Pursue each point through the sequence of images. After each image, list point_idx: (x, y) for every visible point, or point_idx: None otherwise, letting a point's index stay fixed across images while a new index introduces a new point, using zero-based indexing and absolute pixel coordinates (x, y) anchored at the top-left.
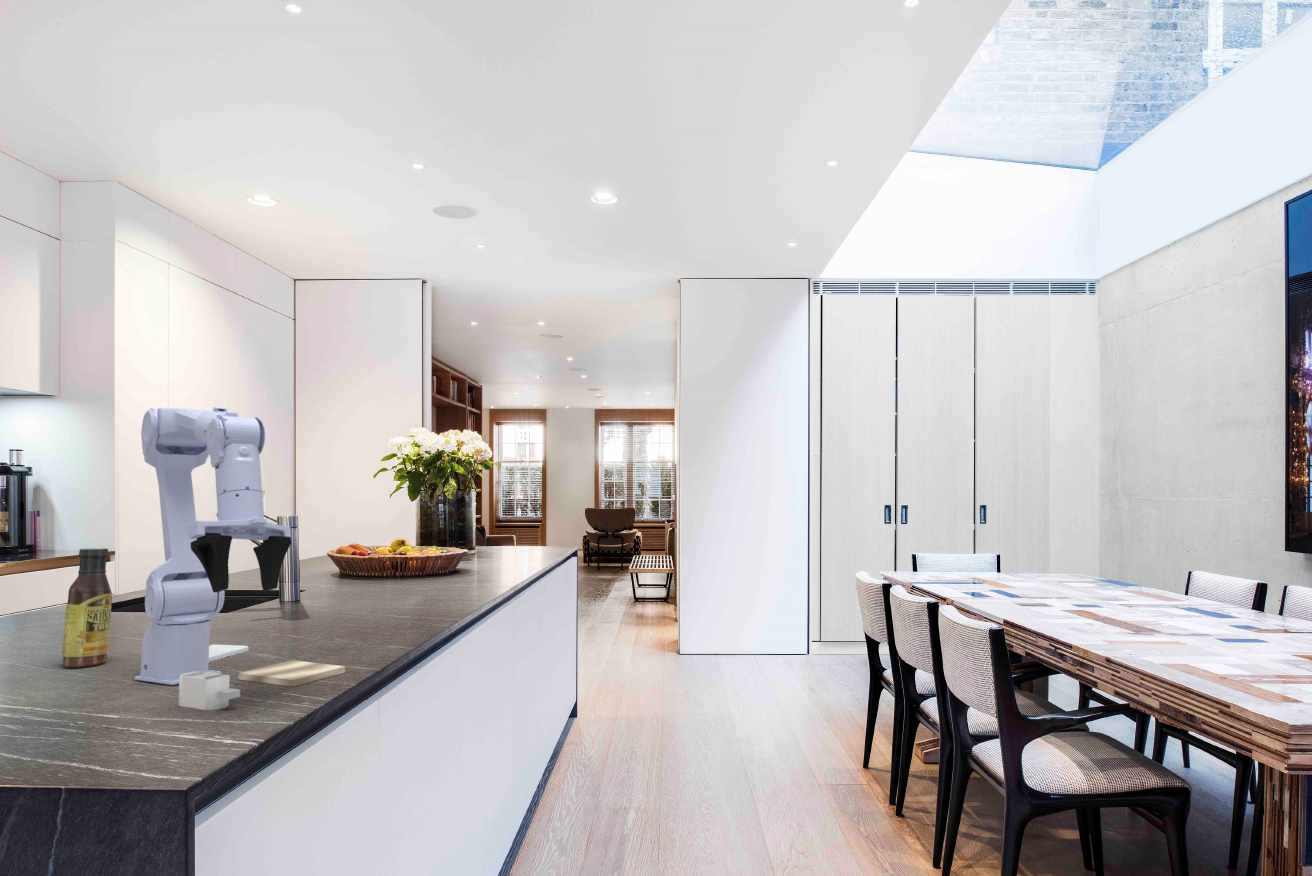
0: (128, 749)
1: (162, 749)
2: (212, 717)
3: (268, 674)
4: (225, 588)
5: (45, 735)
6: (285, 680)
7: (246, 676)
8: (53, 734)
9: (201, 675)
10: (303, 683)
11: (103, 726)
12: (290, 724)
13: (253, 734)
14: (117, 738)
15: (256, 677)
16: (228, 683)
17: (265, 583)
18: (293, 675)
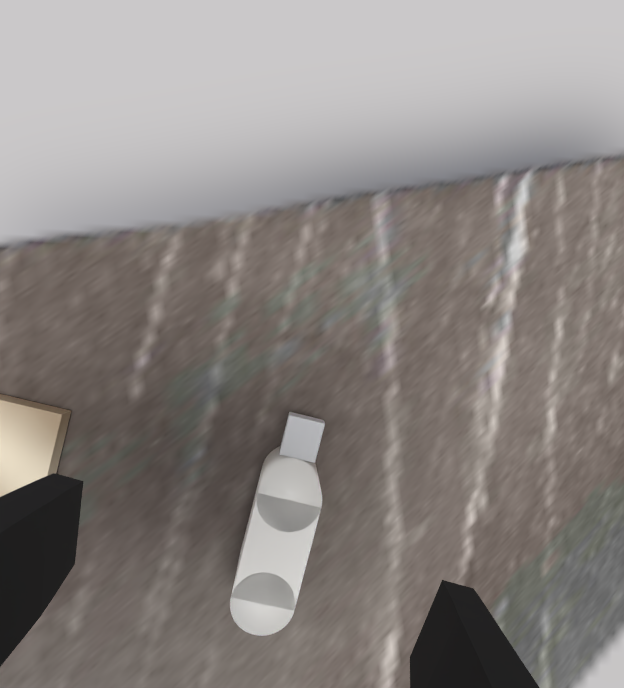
0: (589, 413)
1: (581, 345)
2: (368, 413)
3: None
4: (461, 587)
5: (533, 660)
6: (56, 444)
7: None
8: (525, 651)
9: (278, 561)
10: (34, 402)
11: None
12: (393, 191)
13: (470, 226)
14: (531, 496)
15: None
16: (279, 463)
17: (42, 582)
18: (9, 450)
